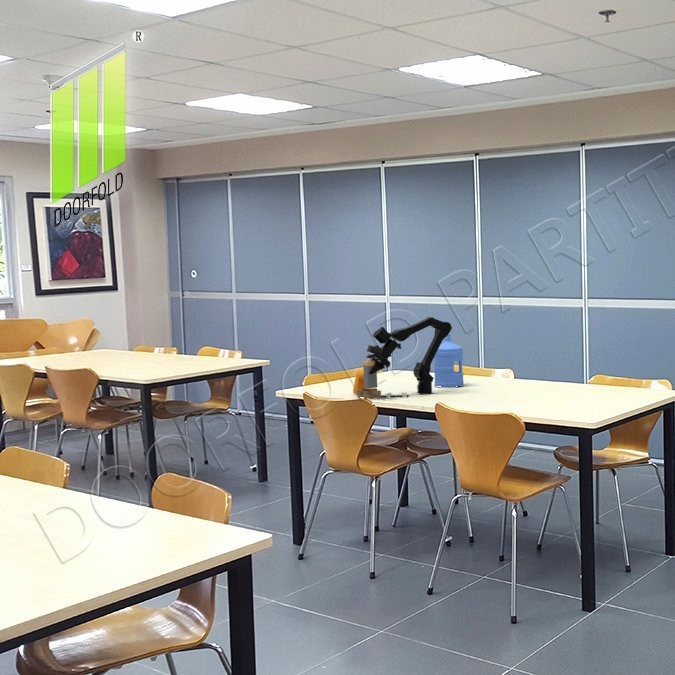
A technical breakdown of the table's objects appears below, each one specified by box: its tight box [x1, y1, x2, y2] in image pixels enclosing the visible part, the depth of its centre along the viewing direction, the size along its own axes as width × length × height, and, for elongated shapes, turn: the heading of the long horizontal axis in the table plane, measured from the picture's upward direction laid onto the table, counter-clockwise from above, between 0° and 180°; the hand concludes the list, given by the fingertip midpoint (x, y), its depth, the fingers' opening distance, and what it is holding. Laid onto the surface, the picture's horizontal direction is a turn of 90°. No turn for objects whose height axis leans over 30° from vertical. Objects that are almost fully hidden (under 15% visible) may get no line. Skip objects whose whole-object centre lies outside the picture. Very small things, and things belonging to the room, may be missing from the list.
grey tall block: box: [362, 358, 378, 388], centre depth 458 cm, size 5×5×14 cm
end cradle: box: [356, 387, 382, 400], centre depth 460 cm, size 10×10×4 cm
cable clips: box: [385, 392, 408, 398], centre depth 459 cm, size 10×4×2 cm, turn 86°
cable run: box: [381, 394, 410, 398], centre depth 459 cm, size 15×2×1 cm, turn 83°
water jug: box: [433, 333, 465, 388], centre depth 496 cm, size 16×16×28 cm
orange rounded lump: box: [352, 370, 377, 395], centre depth 475 cm, size 11×7×12 cm, turn 141°
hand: (367, 373), depth 458 cm, fingers closed on grey tall block, 5 cm apart
